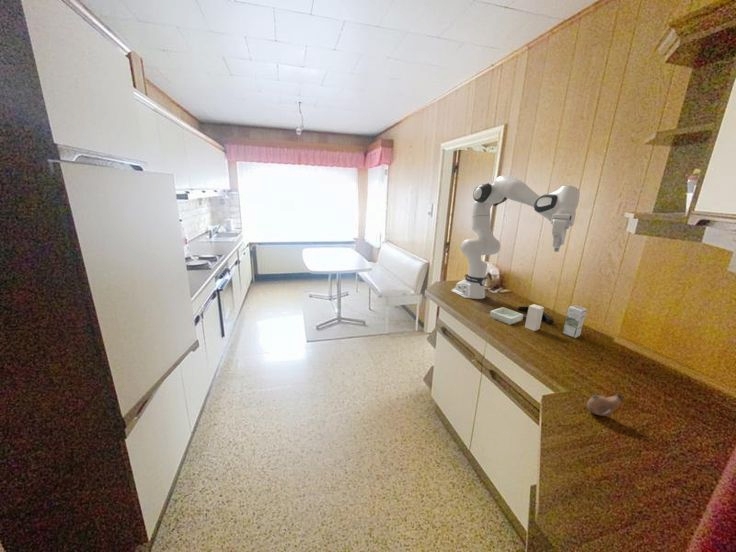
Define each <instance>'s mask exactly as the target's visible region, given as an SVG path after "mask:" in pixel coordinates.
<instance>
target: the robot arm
mask: <svg viewBox="0 0 736 552" xmlns="http://www.w3.org/2000/svg"><path fill="white" fill-rule="evenodd" d="M580 195H581V193H580V190H579V188H577V187H575V186H572V185H563V186H562V185H561V186H560V187H559V188H558V189H556V190H555V191H553V192H550V193H548V194H542V195H539V194H537V193H536V192H535V191H534V190H533V189H532V188H531V187H530V186H528V185H527V183H525V182H523V181H522V180H520V179H519V178H517V177H514V176H511V175H506V174H503V175H499V176H497V178H496V179H494V182H493V183H492V184H491V183H489V182H488V183H483V184H479V185H477V186H476V187H475V188H474V190H473V194H472V196H473V197H472V198H473V200H474V202H473V204H472V210H471V229H472V231H473V232H475V233H476V235H478V238H477V237H475V238H474V237H472V238H467V239H464V240H463V241H462V242H461V245H460V246H461V247H460V248H461V252H462V253H463V254H464V255H465V256H466V258H467V261H468V269H467V270H468V271H467V272H468V273H466V274H464V277H465V278H464V279H461V280H460V281H458V282H457V283H456V284H455V287H454V288H452V289H451V292H453V293H454V294H457V295H459V296H461V297H463V298H465V299H474V300H479V299H480V300H483V299H485V298H486V294H485V292H486V291H485V285H486V281H487V269H488V265H487V263H486V262H484V261H483V260H482V256H492V255H495V254H498V253H499V252H500V251H501V242H500V241H499V240H498V239H497V238H496V237H495V236H494V233H493V232H492V231H493V230H492V228H491V227H492V225H491V209H492V207H493V206H494V207H497V206H499V205H500V204H503V203H505V202H506V201H507V200H511V201H514V202H517V203H520V204H525V205H527V206H530V207H532V208H533V209H534V211H535V212H536V213H538V214H539V215H540V216H541V217H544V218H545V219H547V220H548V221H550V225H552V228H551V229H552V230H551V234H552V238H553V239H552V240H553V242H552V247H553V248H554V249H553V251H554V252H555V253H558V252H559V251H560V248H561V246H564V243H565V239H566V235H567V230H569V229H570V227H572V226H574V224H575V219H576V209H578V206H579V203H580V202H579V201H580Z"/></svg>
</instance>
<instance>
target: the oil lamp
mask: <svg viewBox="0 0 736 552" xmlns="http://www.w3.org/2000/svg"><path fill="white" fill-rule="evenodd" d="M623 401H624V400H623V397H622V395H620V394H619V393H616V394H614V395H612V396H608V397H606V396H604V395H598V394H593V395H592V396H591V397H590V398H589V399H588V400H587V402H586V407H587V409H588V411H589V412H590V413H592V414H594V415H596V416H600V417H601V416H604V417H605V416H606V417H607V416H611V414H612V412H613V411H614V408H615V407H617V406H618V405H619V404H621V403H622V402H623Z"/></svg>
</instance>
